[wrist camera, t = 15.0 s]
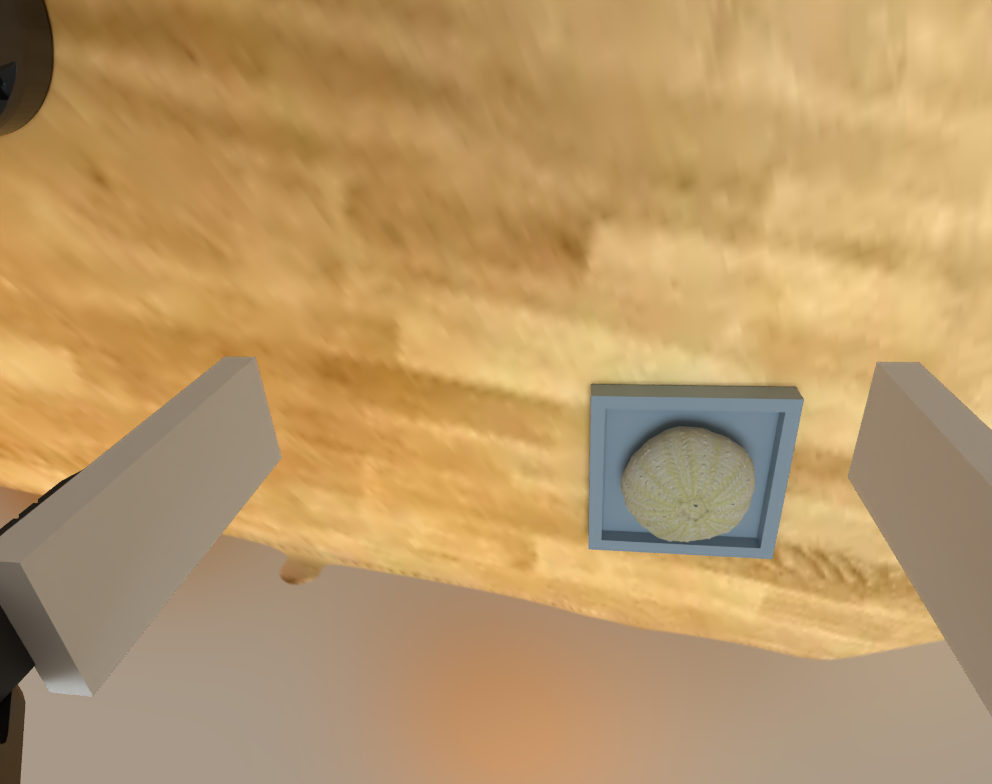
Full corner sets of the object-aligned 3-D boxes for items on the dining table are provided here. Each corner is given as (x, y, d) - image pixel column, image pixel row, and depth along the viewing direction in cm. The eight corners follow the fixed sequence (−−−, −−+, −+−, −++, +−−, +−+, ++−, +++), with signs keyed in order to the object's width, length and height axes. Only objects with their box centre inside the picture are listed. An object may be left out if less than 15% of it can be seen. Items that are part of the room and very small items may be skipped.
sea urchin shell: (587, 476, 46) (662, 489, 39) (648, 402, 48) (728, 401, 41) (655, 557, 48) (736, 583, 41) (708, 483, 51) (794, 495, 44)
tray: (588, 534, 51) (588, 549, 50) (591, 384, 45) (591, 396, 43) (766, 543, 49) (772, 559, 48) (796, 387, 43) (803, 399, 41)
